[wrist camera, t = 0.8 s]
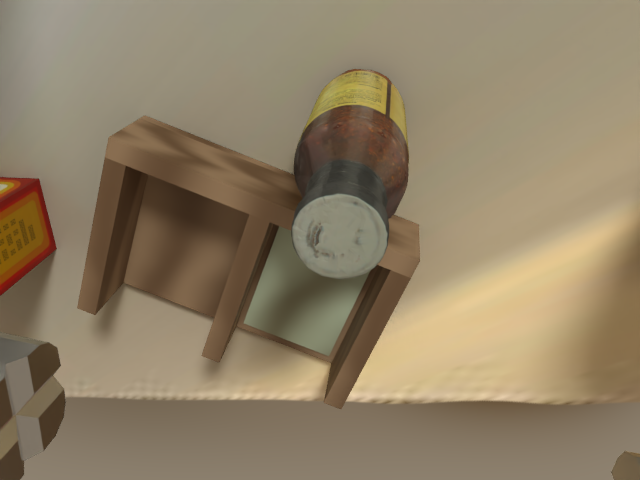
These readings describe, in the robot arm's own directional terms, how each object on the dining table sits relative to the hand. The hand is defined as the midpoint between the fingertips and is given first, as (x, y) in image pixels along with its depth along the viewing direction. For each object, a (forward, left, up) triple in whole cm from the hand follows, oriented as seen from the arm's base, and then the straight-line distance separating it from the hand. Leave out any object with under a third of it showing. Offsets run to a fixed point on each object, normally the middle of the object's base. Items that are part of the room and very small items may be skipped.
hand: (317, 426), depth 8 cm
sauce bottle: (0, -4, -34) cm, 35 cm away
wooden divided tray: (-4, -18, -34) cm, 39 cm away
